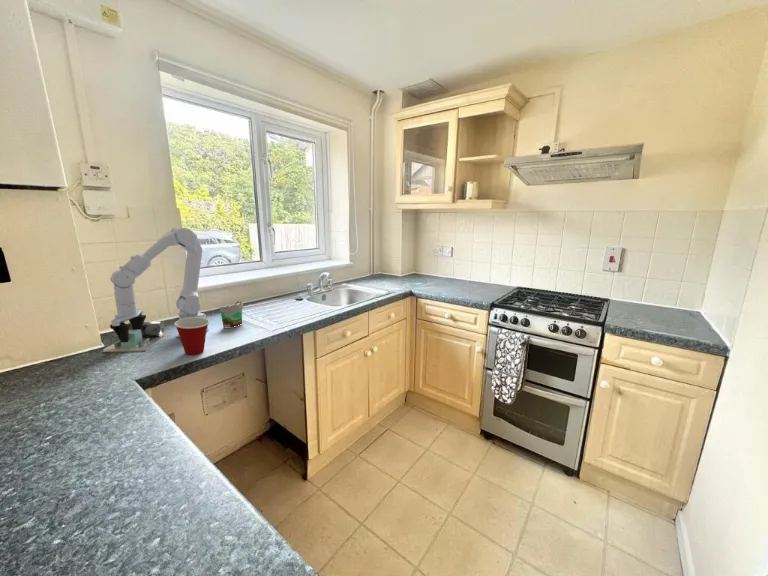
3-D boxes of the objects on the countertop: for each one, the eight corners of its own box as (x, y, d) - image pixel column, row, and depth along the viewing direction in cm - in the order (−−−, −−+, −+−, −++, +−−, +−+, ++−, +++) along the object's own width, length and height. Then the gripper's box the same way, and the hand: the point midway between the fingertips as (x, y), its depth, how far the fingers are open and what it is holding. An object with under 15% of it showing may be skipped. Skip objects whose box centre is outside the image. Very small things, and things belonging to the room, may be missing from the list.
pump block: (142, 341, 121) (141, 329, 120) (136, 346, 117) (134, 333, 116) (128, 342, 120) (126, 329, 119) (121, 346, 117) (119, 333, 116)
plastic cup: (200, 359, 110) (197, 326, 108) (170, 358, 111) (166, 325, 108) (218, 347, 121) (215, 317, 118) (190, 346, 121) (187, 316, 119)
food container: (233, 330, 139) (231, 308, 137) (221, 329, 140) (219, 307, 138) (250, 321, 151) (249, 301, 149) (238, 320, 152) (237, 300, 150)
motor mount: (169, 334, 132) (167, 319, 130) (145, 351, 116) (143, 333, 114) (132, 335, 130) (130, 320, 128) (103, 352, 114) (100, 334, 112)
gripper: (127, 298, 122) (132, 331, 125) (99, 308, 108) (105, 345, 111) (147, 298, 123) (151, 331, 126) (122, 308, 109) (127, 345, 112)
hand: (131, 338), depth 118 cm, fingers open, 7 cm apart
